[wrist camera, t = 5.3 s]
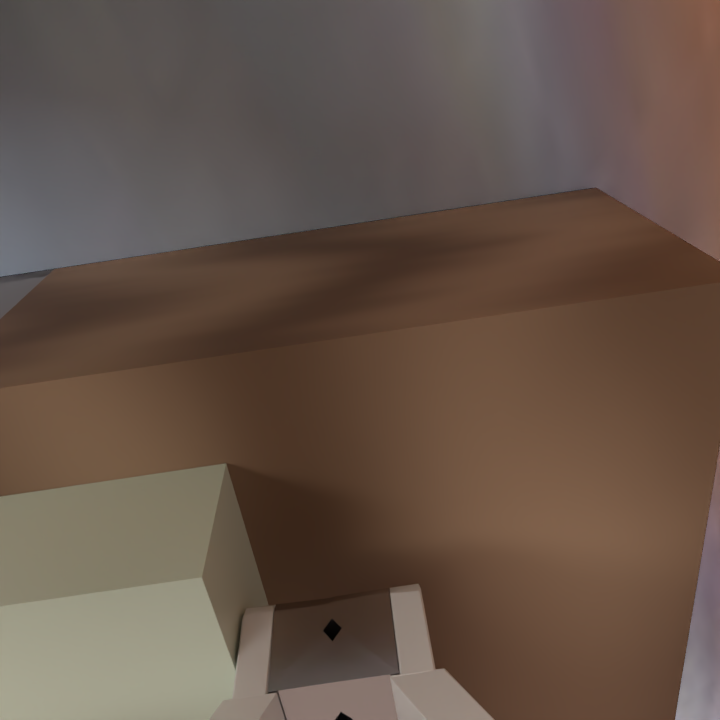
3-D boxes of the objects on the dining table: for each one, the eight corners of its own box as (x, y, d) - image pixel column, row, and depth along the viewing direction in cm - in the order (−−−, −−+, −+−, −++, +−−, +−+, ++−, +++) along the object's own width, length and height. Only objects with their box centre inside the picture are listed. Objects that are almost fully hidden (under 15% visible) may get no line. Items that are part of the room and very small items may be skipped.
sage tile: (226, 463, 11) (201, 577, 9) (283, 655, 13) (276, 783, 11) (-63, 505, 11) (-161, 629, 9) (46, 688, 13) (-10, 823, 11)
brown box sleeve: (596, 187, 15) (747, 278, 10) (578, 619, 22) (660, 808, 17) (54, 268, 15) (-89, 401, 10) (209, 670, 22) (175, 873, 17)
